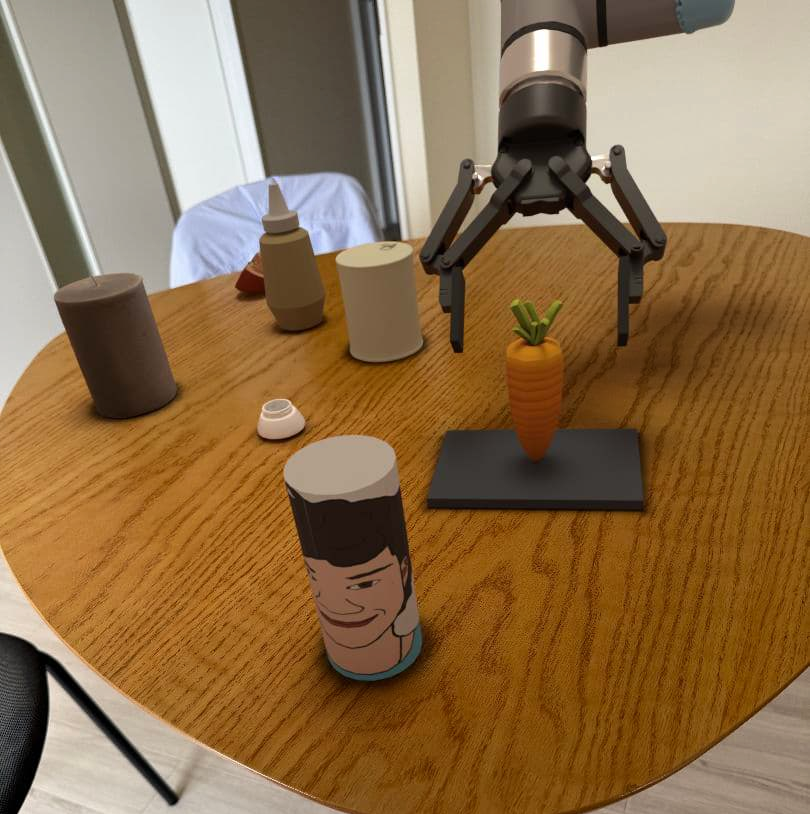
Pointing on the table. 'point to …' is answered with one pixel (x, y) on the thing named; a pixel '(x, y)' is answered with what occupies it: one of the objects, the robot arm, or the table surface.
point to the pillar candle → (117, 344)
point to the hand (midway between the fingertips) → (537, 344)
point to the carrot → (534, 378)
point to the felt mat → (539, 471)
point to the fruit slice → (252, 277)
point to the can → (380, 301)
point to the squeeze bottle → (289, 267)
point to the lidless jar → (279, 420)
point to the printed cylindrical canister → (356, 553)
